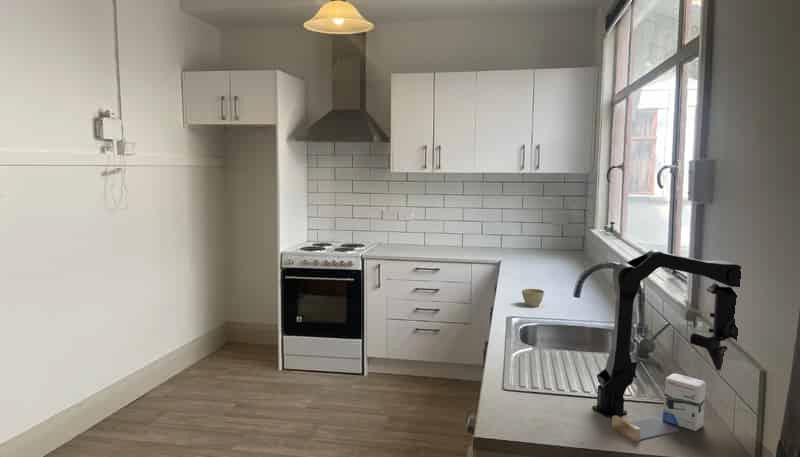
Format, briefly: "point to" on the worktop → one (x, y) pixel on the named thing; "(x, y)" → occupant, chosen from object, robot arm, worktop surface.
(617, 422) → the rail
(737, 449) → the worktop surface
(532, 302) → the flower pot
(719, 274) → the robot arm
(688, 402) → the ink box
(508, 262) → the worktop surface
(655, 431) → the felt mat
